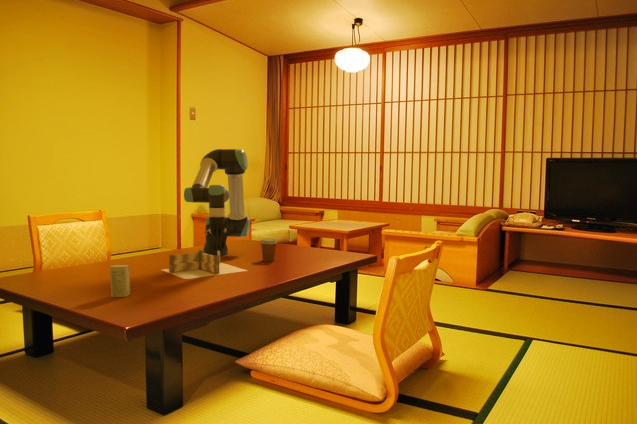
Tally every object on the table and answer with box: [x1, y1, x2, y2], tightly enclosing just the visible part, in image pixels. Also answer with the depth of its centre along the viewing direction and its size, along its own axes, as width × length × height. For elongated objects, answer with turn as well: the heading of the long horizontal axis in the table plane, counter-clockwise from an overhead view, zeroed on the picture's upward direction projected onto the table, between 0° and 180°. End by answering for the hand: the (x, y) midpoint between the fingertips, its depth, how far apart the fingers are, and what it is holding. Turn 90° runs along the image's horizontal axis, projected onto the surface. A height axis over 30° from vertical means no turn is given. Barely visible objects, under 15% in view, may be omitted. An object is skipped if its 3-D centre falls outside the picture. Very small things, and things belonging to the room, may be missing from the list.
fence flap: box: [201, 253, 219, 273], centre depth 248 cm, size 15×2×9 cm, turn 42°
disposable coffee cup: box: [260, 238, 278, 262], centre depth 284 cm, size 10×10×12 cm
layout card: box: [161, 262, 249, 280], centre depth 252 cm, size 28×34×1 cm
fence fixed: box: [168, 249, 203, 274], centre depth 250 cm, size 18×2×9 cm, turn 130°
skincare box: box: [109, 264, 131, 298], centre depth 200 cm, size 6×4×12 cm
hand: (217, 263), depth 248 cm, fingers closed
